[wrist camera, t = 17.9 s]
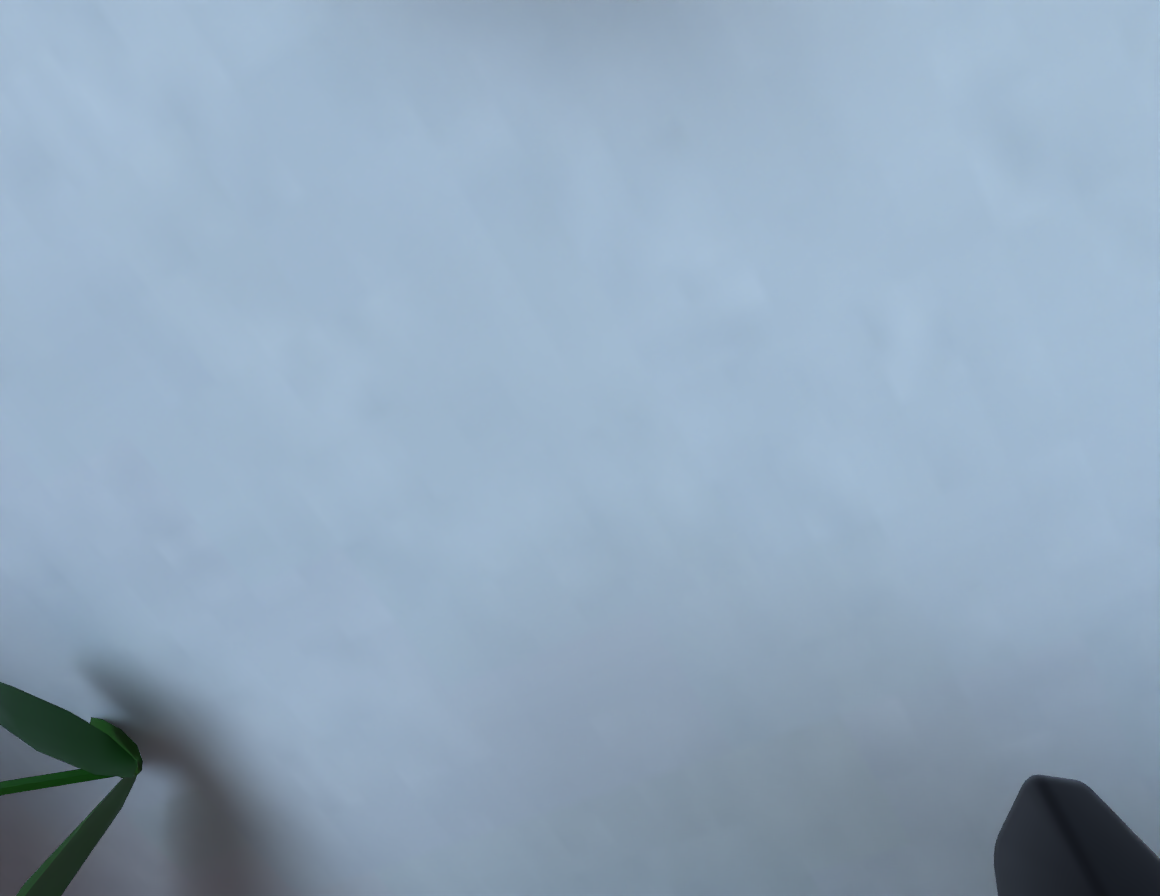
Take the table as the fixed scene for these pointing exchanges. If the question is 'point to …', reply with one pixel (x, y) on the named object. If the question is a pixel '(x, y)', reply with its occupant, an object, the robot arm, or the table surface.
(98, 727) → the flower
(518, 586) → the table surface
